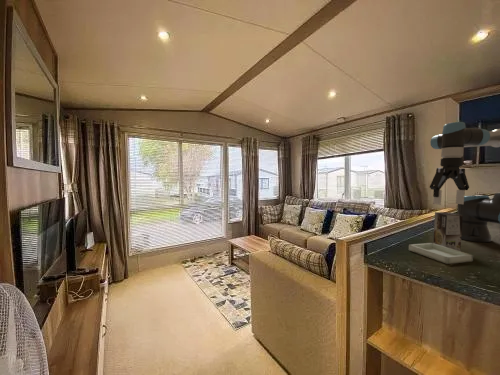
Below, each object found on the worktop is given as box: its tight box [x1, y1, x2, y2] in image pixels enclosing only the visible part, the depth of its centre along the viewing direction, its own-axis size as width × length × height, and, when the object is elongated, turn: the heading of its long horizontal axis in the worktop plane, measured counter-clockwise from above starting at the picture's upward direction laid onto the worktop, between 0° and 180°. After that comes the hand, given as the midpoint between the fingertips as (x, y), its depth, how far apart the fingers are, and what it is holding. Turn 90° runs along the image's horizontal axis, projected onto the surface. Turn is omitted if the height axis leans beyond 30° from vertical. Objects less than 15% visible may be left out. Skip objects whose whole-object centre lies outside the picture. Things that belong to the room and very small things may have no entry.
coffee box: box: [433, 211, 463, 251], centre depth 104 cm, size 9×6×16 cm
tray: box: [408, 242, 474, 265], centre depth 95 cm, size 13×16×2 cm
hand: (448, 204), depth 104 cm, fingers open, 13 cm apart
